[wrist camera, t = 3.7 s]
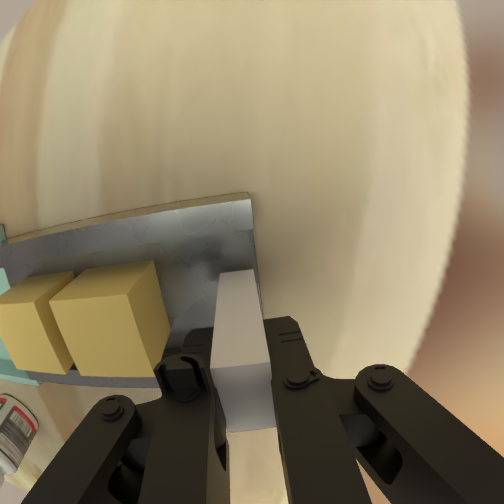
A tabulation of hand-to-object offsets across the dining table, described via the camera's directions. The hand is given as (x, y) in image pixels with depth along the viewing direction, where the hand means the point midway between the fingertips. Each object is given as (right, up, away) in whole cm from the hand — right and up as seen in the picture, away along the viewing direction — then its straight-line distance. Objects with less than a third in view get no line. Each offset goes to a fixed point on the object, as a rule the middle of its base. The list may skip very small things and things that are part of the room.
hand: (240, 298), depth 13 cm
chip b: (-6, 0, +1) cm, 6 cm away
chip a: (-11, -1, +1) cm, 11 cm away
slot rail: (-7, 0, +2) cm, 7 cm away
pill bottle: (-23, -14, +6) cm, 28 cm away
